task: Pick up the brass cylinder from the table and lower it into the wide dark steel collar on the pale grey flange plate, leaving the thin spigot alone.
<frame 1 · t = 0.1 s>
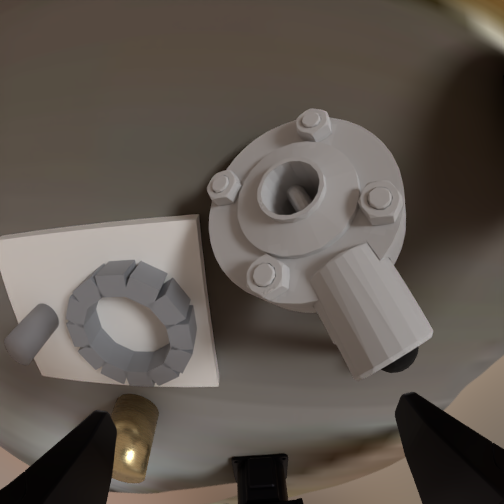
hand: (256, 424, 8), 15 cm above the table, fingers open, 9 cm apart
flange plate: (101, 308, 23), on the table
mechanical valve: (343, 260, 23), on the table
brass cylinder: (137, 408, 27), on the table
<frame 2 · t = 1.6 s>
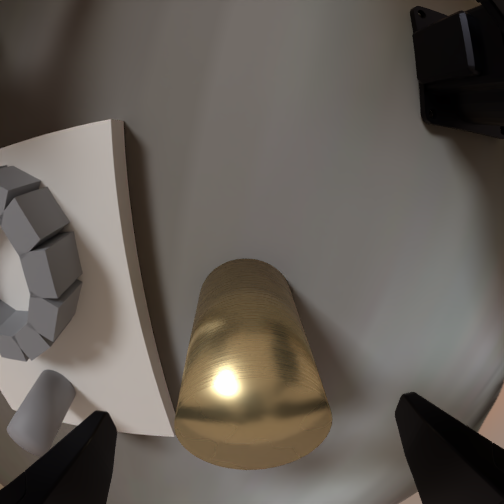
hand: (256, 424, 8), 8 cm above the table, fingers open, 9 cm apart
flange plate: (40, 304, 15), on the table
brass cylinder: (245, 301, 15), on the table
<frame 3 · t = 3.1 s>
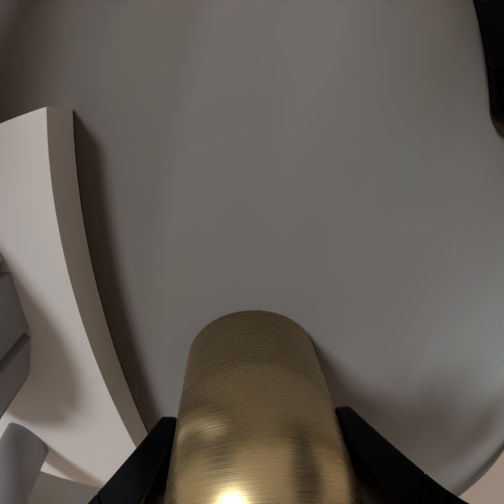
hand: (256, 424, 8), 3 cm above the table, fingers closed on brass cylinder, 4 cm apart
brass cylinder: (252, 363, 11), on the table, touching gripper
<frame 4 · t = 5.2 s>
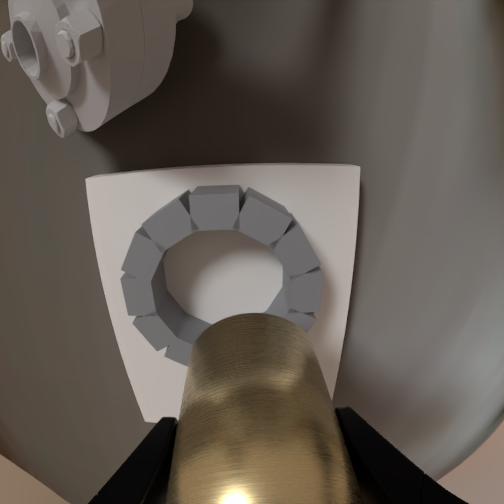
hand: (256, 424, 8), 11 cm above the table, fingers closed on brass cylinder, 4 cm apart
flange plate: (227, 316, 19), on the table
brass cylinder: (252, 365, 11), point 8 cm above the table, touching gripper
when the fingers open (5 cm above the table, at t = 7.2 s): brass cylinder stays where it is, resting on flange plate.
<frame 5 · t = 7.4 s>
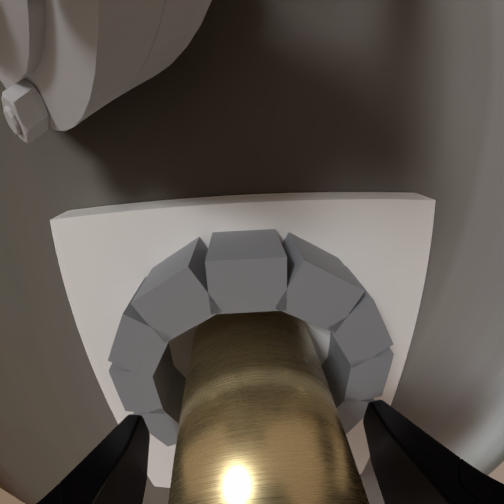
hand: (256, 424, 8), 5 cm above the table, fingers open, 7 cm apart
flange plate: (252, 385, 14), on the table
brass cylinder: (251, 349, 12), point 2 cm above the table, touching flange plate
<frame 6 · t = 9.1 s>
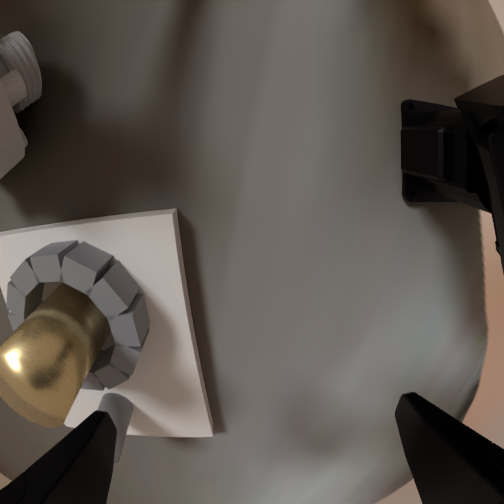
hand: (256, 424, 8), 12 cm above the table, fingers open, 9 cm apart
flange plate: (103, 342, 20), on the table
mechanical valve: (73, 35, 13), on the table
brass cylinder: (82, 311, 17), point 2 cm above the table, touching flange plate
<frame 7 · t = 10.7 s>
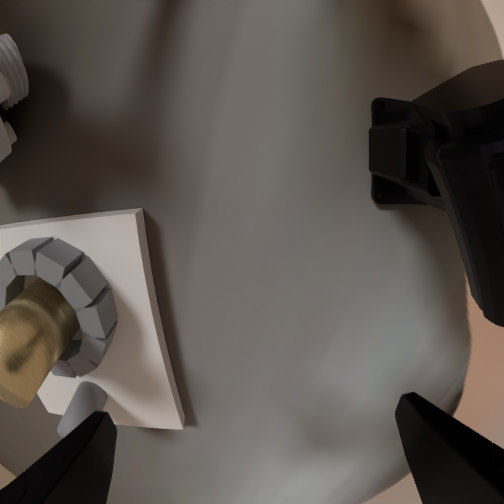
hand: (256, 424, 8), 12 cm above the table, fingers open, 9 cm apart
flange plate: (79, 332, 21), on the table
mechanical valve: (59, 35, 14), on the table
brass cylinder: (58, 303, 18), point 2 cm above the table, touching flange plate
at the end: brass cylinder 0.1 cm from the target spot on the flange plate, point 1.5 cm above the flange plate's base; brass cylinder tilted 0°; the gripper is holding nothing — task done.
